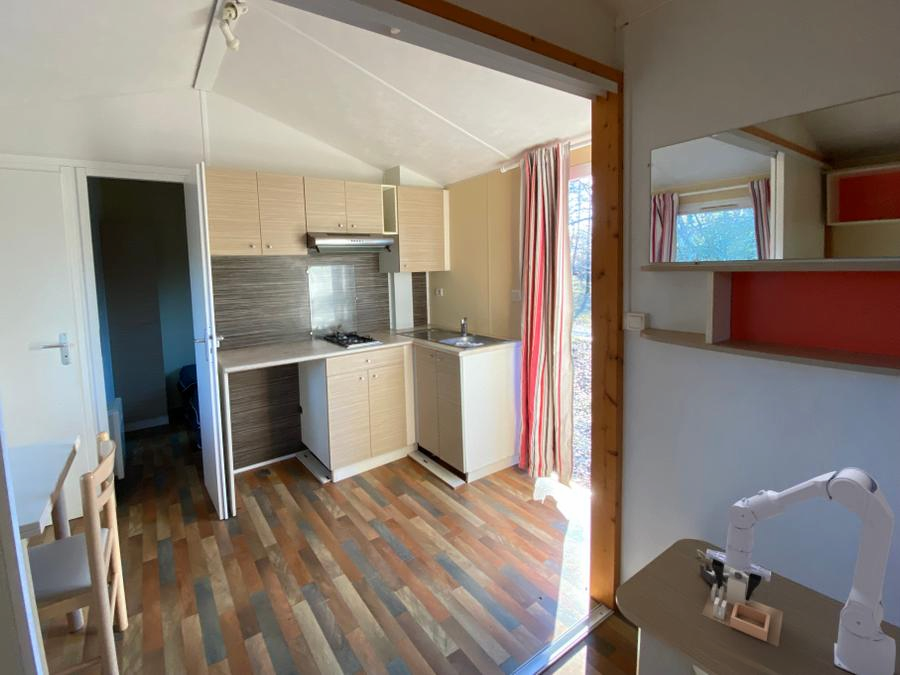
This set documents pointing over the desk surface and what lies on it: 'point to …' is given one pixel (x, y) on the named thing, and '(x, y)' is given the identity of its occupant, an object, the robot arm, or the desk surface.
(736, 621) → the frame
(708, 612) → the board
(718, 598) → the clips
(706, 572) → the clip-on lamp
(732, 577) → the connector plug
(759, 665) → the desk surface
